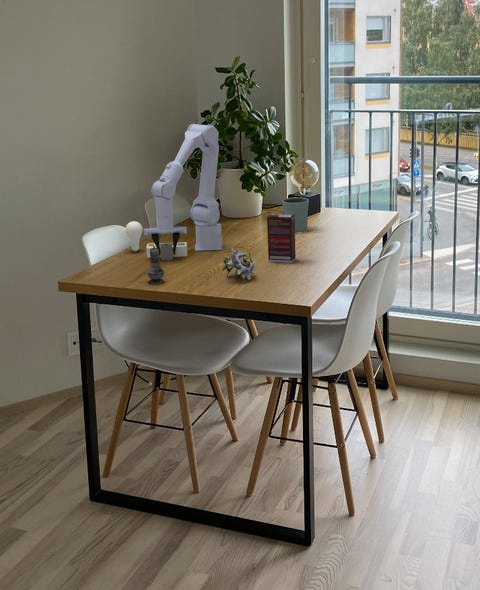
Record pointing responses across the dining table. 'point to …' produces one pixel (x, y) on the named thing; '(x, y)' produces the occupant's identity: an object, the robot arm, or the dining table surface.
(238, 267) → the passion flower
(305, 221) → the grey green plant pot
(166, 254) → the block
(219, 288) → the dining table surface
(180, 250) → the power strip
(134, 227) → the lightbulb
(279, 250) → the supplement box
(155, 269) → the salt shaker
